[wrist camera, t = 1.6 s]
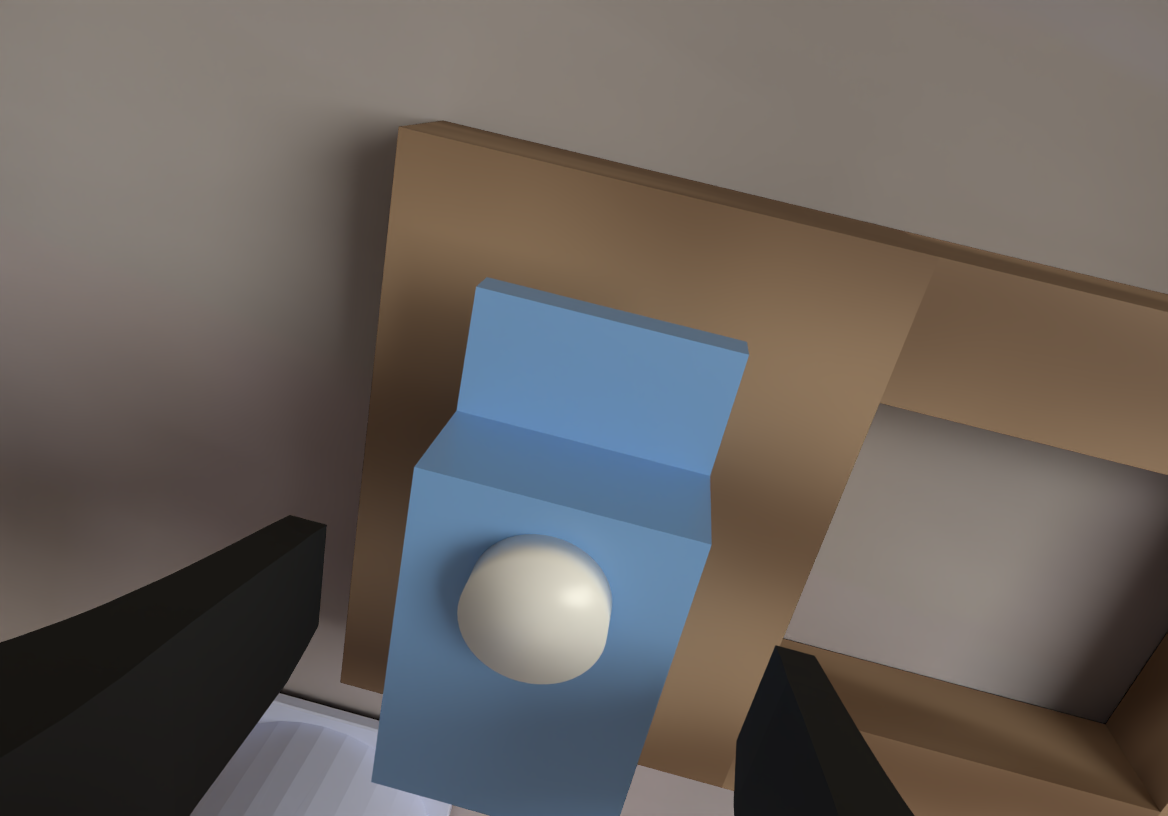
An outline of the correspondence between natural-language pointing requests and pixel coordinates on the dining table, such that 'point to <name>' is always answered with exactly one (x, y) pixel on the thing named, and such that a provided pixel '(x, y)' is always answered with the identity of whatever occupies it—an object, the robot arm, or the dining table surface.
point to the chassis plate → (778, 433)
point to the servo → (552, 555)
